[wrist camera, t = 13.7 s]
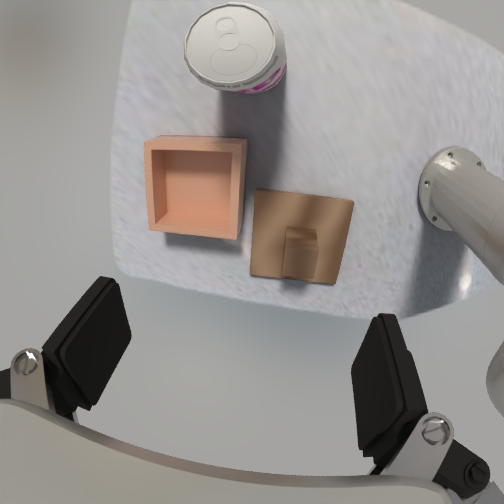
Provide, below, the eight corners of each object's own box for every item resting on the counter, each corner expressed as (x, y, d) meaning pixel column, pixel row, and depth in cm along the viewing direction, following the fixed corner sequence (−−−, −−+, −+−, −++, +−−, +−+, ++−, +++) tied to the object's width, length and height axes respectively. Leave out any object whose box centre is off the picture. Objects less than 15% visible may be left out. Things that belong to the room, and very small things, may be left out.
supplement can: (292, 87, 32) (294, 79, 19) (227, 99, 33) (188, 101, 20) (279, 28, 28) (271, -12, 15) (214, 42, 30) (168, 14, 17)
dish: (247, 138, 36) (241, 144, 31) (242, 223, 42) (236, 239, 37) (160, 135, 37) (143, 141, 32) (163, 215, 43) (149, 230, 38)
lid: (353, 200, 38) (363, 221, 32) (334, 281, 44) (339, 309, 38) (256, 188, 39) (249, 206, 33) (250, 271, 45) (243, 299, 39)
